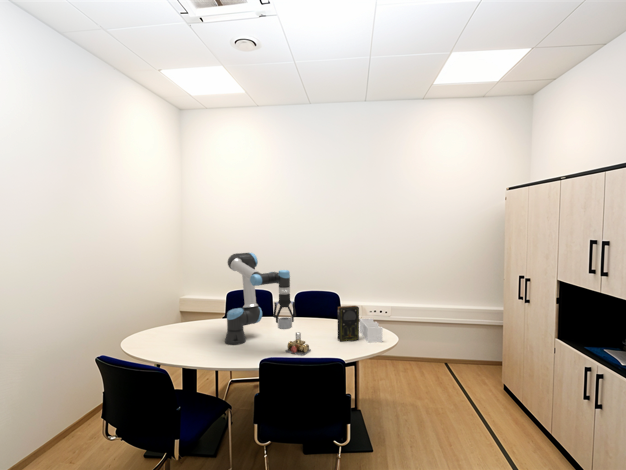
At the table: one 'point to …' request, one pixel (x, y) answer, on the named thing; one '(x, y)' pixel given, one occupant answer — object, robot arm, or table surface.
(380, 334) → the storage container
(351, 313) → the voltmeter
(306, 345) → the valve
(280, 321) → the coupling
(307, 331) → the table surface
